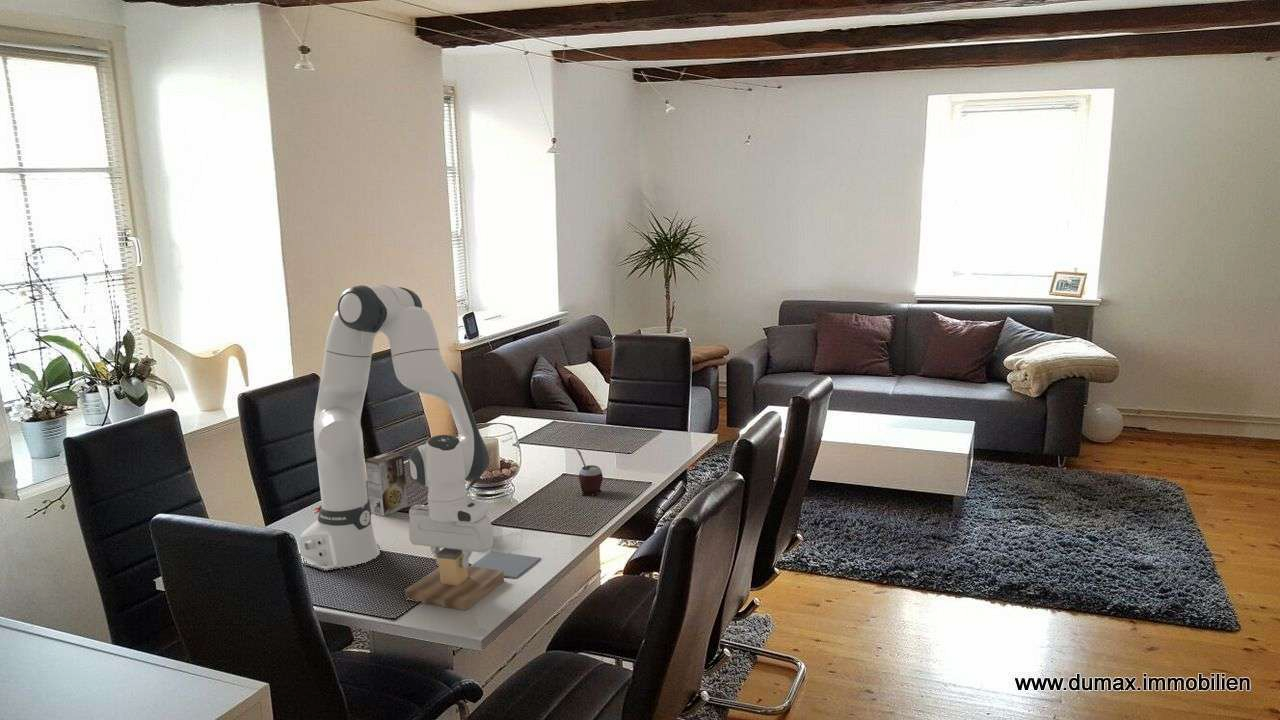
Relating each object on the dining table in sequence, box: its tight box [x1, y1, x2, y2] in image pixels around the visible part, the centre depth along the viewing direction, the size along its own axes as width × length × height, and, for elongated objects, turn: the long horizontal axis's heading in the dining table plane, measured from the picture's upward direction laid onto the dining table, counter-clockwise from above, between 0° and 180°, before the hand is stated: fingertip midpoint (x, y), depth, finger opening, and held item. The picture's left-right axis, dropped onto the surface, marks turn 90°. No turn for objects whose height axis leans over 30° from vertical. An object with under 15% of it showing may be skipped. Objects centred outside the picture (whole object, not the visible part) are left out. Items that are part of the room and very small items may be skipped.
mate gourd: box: [570, 444, 604, 497], centre depth 274 cm, size 8×8×15 cm
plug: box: [437, 548, 468, 586], centre depth 211 cm, size 4×4×8 cm
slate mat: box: [470, 550, 542, 580], centre depth 226 cm, size 14×12×1 cm
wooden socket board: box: [404, 565, 505, 612], centre depth 212 cm, size 16×16×2 cm
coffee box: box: [364, 451, 409, 517], centre depth 267 cm, size 9×6×16 cm
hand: (452, 565), depth 211 cm, fingers closed on plug, 4 cm apart
